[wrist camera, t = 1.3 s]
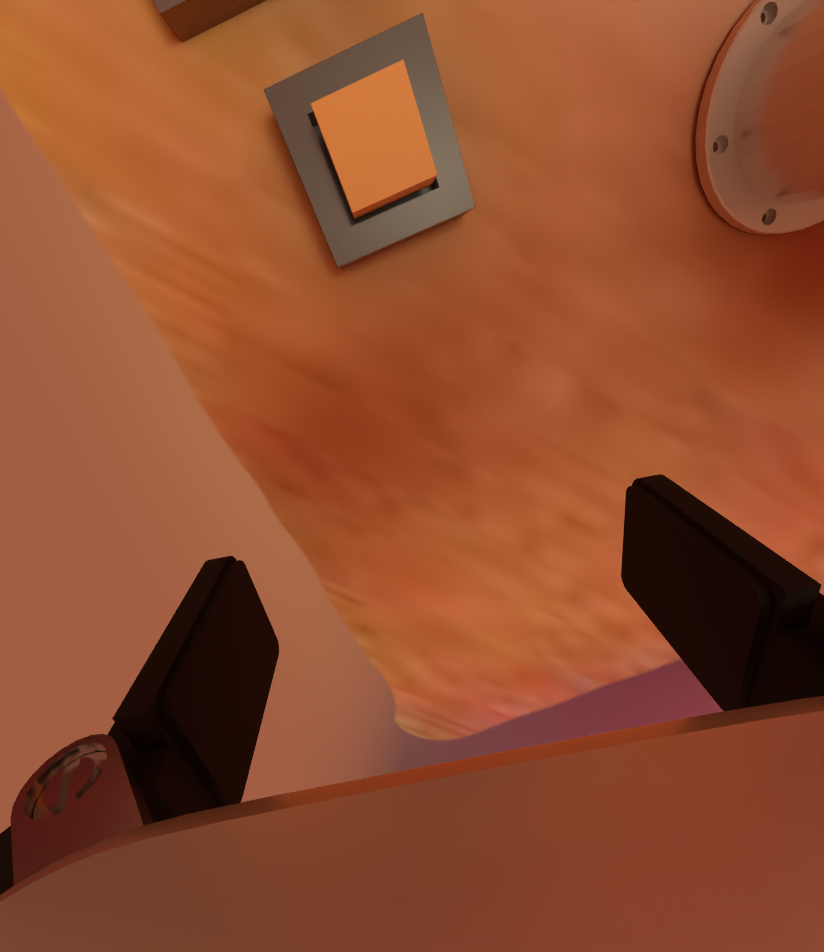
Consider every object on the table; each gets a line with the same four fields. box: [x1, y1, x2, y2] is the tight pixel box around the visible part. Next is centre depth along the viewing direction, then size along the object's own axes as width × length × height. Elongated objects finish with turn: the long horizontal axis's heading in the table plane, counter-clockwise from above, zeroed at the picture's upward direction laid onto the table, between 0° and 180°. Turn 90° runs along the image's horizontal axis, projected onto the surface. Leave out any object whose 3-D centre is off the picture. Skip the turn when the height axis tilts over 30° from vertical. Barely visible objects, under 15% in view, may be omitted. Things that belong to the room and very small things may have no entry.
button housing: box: [264, 13, 475, 268], centre depth 23 cm, size 8×8×3 cm
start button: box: [311, 60, 437, 219], centre depth 20 cm, size 4×4×2 cm
